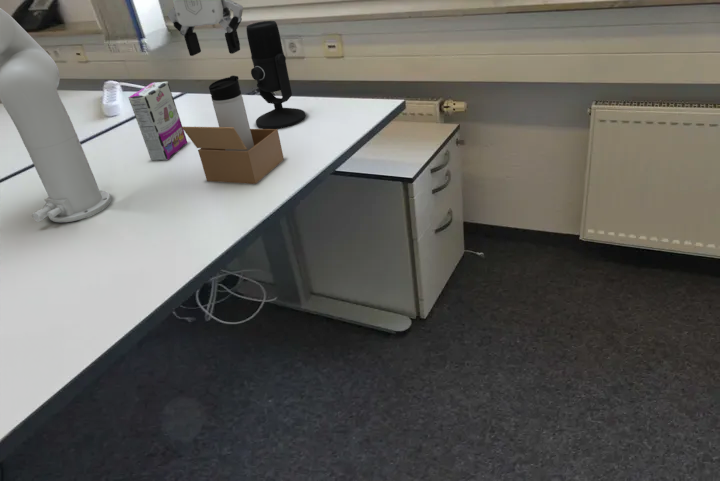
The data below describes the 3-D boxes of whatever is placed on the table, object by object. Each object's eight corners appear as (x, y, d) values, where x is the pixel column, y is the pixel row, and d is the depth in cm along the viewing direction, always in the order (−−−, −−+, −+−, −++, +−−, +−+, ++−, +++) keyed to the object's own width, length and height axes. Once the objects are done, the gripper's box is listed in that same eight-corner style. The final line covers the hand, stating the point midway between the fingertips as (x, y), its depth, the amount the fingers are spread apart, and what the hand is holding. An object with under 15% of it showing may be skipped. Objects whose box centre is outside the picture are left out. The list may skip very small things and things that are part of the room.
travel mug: (266, 165, 127) (245, 76, 117) (242, 177, 123) (218, 86, 113) (249, 160, 131) (227, 74, 121) (225, 171, 127) (201, 83, 117)
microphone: (246, 125, 154) (223, 29, 142) (282, 109, 163) (263, 17, 150) (279, 132, 146) (257, 31, 133) (316, 115, 154) (299, 18, 142)
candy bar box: (171, 144, 150) (151, 82, 141) (188, 143, 148) (169, 80, 140) (149, 161, 140) (126, 96, 132) (167, 160, 139) (146, 95, 131)
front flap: (247, 148, 116) (246, 149, 116) (197, 147, 121) (196, 148, 121) (233, 127, 111) (233, 128, 111) (182, 126, 116) (181, 127, 116)
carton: (255, 184, 120) (247, 151, 116) (207, 181, 125) (197, 150, 121) (284, 159, 130) (277, 129, 126) (237, 157, 135) (230, 128, 131)
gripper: (142, -32, 108) (169, 60, 116) (217, -42, 101) (241, 56, 110) (166, -38, 113) (191, 50, 122) (240, -48, 107) (260, 46, 116)
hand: (215, 53), depth 116 cm, fingers open, 9 cm apart
